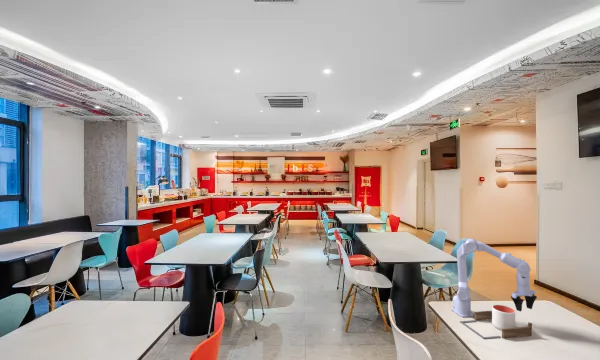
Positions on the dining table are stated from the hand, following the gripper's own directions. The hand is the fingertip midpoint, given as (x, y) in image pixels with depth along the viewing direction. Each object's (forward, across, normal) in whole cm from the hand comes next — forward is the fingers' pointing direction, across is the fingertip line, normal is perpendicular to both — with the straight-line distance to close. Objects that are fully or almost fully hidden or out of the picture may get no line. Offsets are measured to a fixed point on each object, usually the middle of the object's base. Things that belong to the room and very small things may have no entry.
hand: (524, 309), depth 152 cm
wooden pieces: (+9, -12, +4) cm, 15 cm away
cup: (+10, -11, +3) cm, 15 cm away
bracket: (+9, -25, +5) cm, 27 cm away
